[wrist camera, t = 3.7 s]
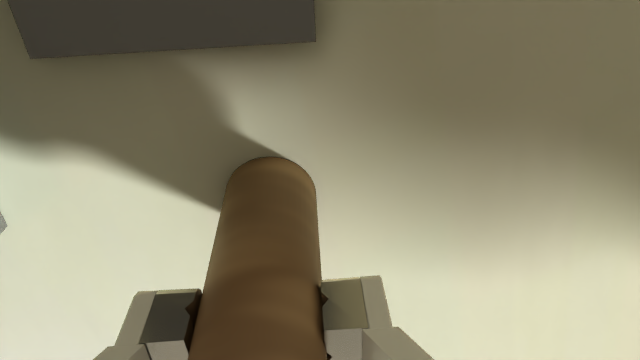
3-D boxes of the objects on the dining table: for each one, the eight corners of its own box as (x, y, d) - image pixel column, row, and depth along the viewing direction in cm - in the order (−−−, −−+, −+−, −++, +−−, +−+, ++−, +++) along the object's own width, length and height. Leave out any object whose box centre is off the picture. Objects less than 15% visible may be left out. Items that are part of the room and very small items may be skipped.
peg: (313, 153, 15) (337, 512, 6) (318, 227, 16) (342, 592, 8) (218, 159, 15) (117, 529, 6) (233, 233, 16) (166, 605, 8)
